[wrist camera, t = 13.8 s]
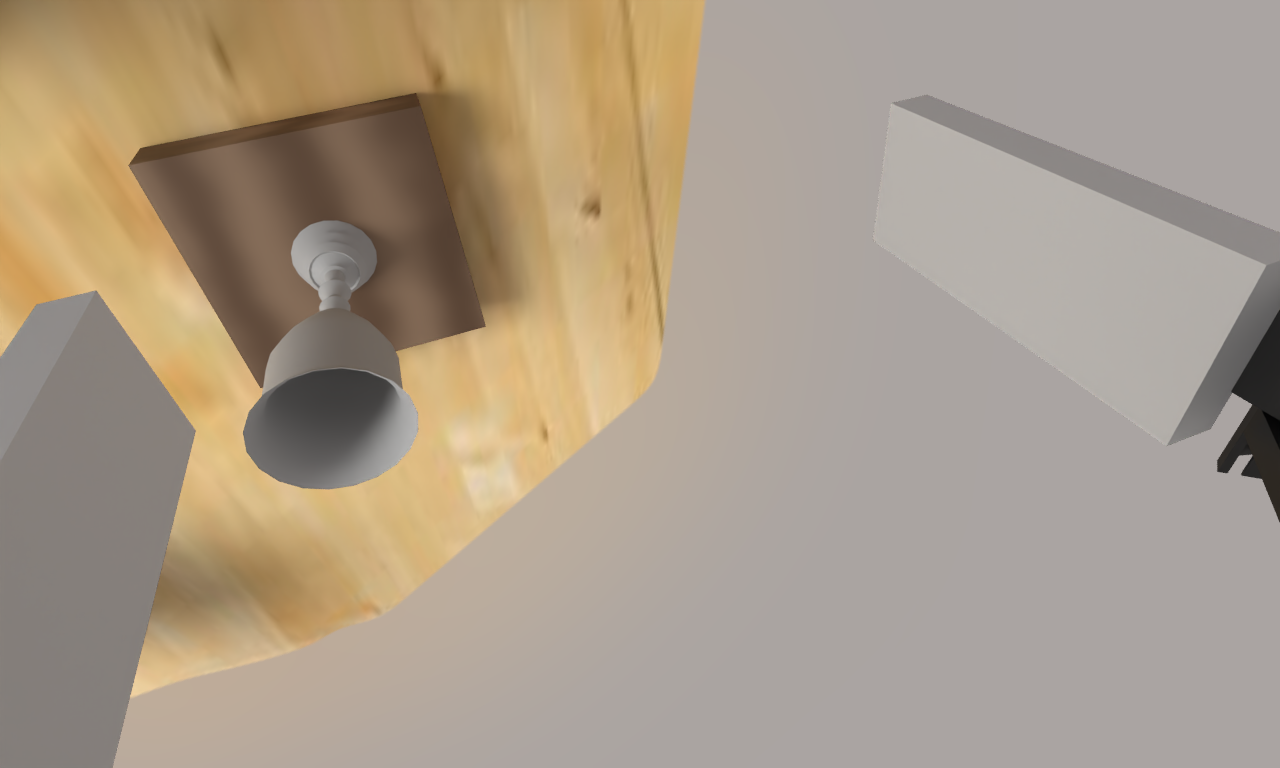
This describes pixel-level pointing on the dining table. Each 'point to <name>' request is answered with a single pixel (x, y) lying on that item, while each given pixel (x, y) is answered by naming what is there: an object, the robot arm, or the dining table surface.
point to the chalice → (331, 378)
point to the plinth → (306, 194)
